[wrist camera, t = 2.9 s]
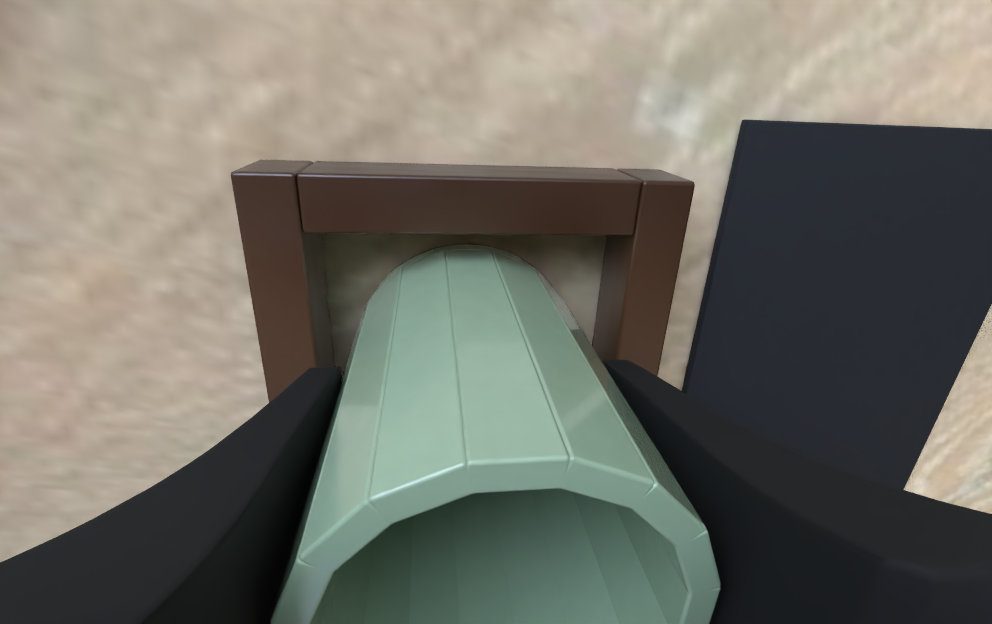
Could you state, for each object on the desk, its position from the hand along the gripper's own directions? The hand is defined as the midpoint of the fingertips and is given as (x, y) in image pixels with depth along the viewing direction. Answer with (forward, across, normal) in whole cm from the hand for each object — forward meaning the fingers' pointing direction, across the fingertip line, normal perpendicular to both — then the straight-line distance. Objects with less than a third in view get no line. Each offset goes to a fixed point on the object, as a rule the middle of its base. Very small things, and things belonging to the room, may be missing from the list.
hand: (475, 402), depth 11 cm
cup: (+3, 0, 0) cm, 3 cm away
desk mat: (+3, -11, +4) cm, 12 cm away
